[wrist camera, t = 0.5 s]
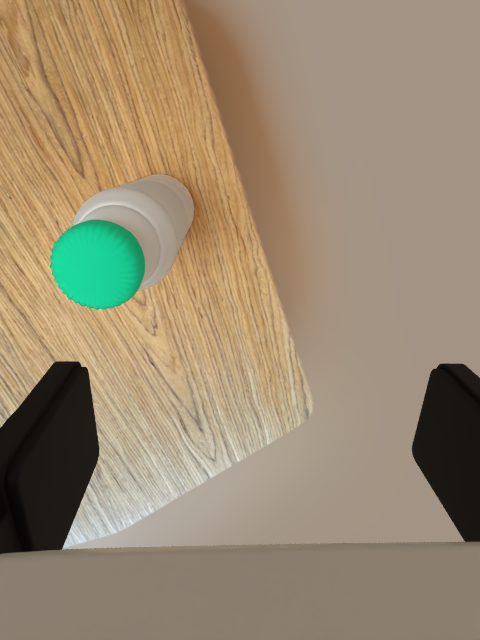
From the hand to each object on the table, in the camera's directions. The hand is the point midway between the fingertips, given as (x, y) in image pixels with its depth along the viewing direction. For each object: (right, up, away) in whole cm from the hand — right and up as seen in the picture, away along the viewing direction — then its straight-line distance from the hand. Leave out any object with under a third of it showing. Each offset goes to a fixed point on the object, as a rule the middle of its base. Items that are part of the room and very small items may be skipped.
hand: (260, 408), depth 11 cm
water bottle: (-9, +15, +33) cm, 37 cm away
